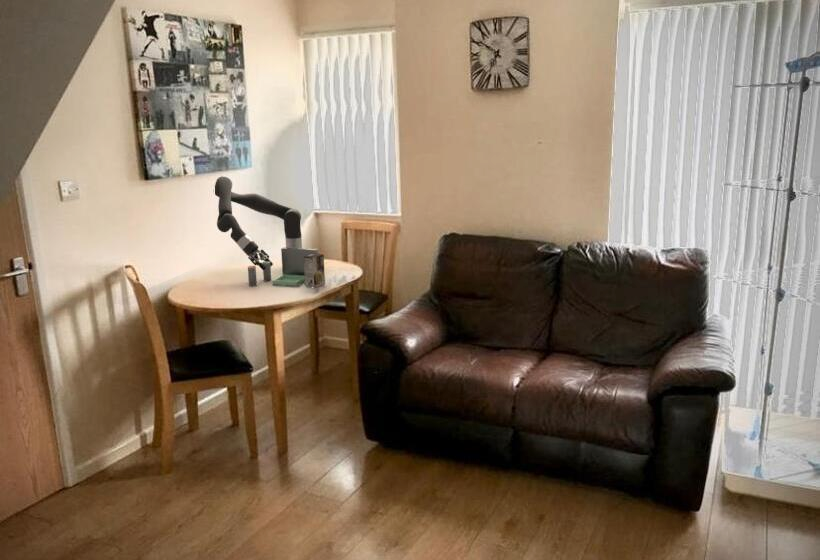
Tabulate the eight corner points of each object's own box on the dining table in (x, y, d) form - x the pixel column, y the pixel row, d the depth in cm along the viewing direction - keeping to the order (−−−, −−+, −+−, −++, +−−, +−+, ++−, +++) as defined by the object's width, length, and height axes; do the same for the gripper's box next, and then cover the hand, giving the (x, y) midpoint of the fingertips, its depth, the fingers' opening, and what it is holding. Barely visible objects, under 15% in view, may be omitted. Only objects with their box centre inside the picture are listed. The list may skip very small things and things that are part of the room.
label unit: (286, 274, 372) (285, 246, 368) (320, 276, 367) (319, 247, 363) (280, 278, 364) (279, 249, 360) (315, 280, 359) (313, 250, 355)
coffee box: (315, 282, 354) (314, 252, 350) (325, 284, 351) (324, 254, 347) (304, 286, 347) (303, 256, 343) (314, 288, 344) (313, 257, 340)
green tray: (283, 278, 362) (283, 274, 362) (307, 280, 359) (306, 275, 359) (272, 285, 350) (272, 280, 349) (296, 286, 346) (296, 282, 346)
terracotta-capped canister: (251, 284, 352) (249, 265, 350) (258, 284, 351) (256, 265, 349) (247, 285, 349) (246, 267, 346) (254, 286, 348) (253, 267, 345)
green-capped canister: (265, 279, 362) (264, 261, 360) (272, 279, 361) (271, 261, 359) (262, 281, 358) (261, 262, 356) (269, 281, 357) (268, 263, 355)
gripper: (249, 247, 365) (270, 268, 366) (236, 252, 352) (258, 274, 352) (257, 238, 363) (278, 259, 363) (245, 243, 350) (266, 265, 350)
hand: (268, 267), depth 358 cm, fingers open, 8 cm apart
